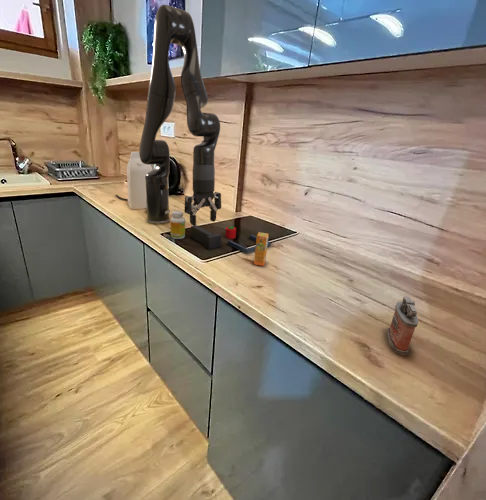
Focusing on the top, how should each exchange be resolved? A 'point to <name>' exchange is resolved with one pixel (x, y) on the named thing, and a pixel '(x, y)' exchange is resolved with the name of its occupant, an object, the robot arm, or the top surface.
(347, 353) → the top surface
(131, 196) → the milk
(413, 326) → the lighter
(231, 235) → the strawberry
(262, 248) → the supplement box
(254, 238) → the frame
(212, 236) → the matte black brick
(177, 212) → the supplement bottle
